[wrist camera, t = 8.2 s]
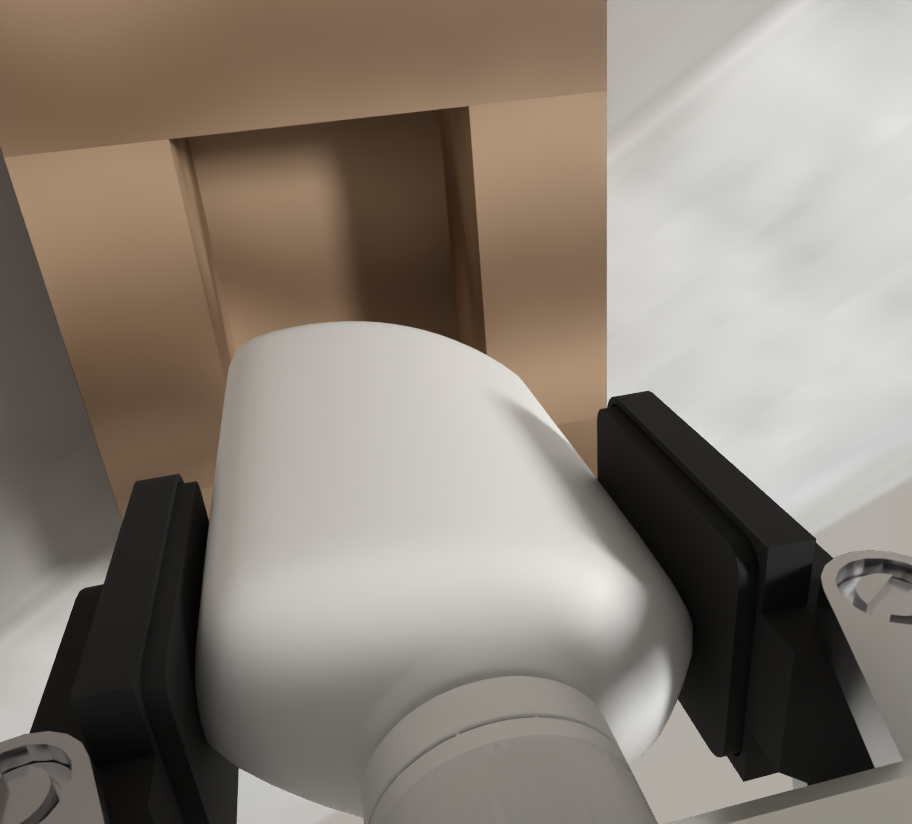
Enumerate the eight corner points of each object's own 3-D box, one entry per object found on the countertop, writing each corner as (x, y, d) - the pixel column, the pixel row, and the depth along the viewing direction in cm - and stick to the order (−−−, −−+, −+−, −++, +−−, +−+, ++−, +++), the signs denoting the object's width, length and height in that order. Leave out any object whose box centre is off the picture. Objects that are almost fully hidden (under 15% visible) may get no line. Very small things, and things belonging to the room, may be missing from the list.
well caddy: (15, -10, 20) (-56, -25, 16) (539, -51, 22) (606, -75, 18) (168, 514, 27) (149, 605, 23) (555, 443, 29) (606, 514, 25)
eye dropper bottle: (414, 551, 17) (669, 1436, 6) (182, 409, 14) (-68, 1457, 4) (552, 399, 16) (1129, 1114, 5) (331, 221, 14) (563, 871, 3)
